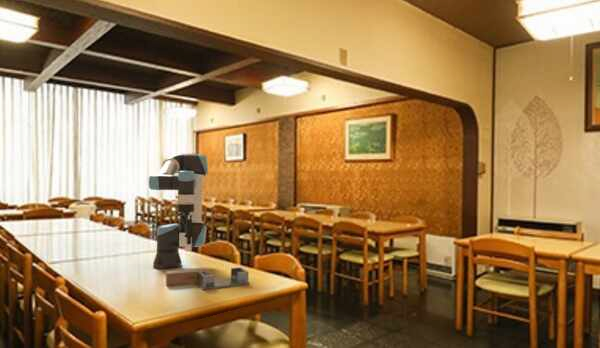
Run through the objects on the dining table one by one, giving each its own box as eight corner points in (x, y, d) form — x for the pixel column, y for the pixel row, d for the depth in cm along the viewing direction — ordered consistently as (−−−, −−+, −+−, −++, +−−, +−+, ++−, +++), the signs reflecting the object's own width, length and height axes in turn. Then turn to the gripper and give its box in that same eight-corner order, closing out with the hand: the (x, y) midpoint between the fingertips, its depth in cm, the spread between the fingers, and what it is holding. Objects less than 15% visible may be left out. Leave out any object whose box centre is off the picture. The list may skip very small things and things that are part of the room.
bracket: (196, 284, 186) (196, 271, 186) (241, 279, 196) (241, 267, 196) (202, 290, 176) (202, 276, 176) (249, 284, 187) (249, 271, 187)
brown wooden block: (165, 284, 186) (166, 271, 186) (200, 281, 192) (200, 268, 192) (166, 287, 181) (167, 274, 181) (202, 283, 188) (202, 271, 188)
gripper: (172, 202, 196) (172, 244, 196) (183, 205, 174) (182, 253, 174) (188, 201, 200) (187, 243, 200) (200, 205, 178) (199, 252, 178)
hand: (185, 248), depth 187 cm, fingers open, 13 cm apart
